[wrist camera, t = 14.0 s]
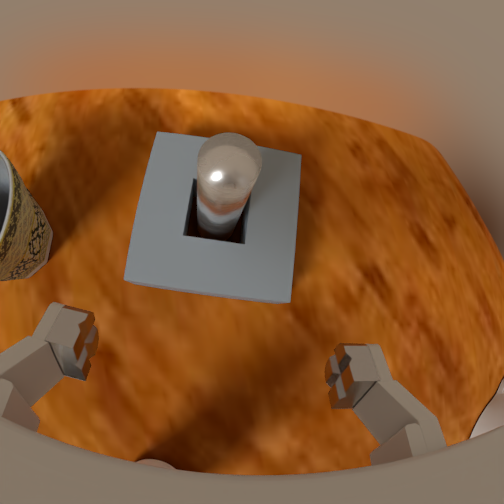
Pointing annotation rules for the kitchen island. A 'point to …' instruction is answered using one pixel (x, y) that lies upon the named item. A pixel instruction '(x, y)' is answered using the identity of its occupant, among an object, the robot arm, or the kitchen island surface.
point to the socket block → (206, 250)
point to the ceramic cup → (20, 227)
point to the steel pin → (224, 182)
